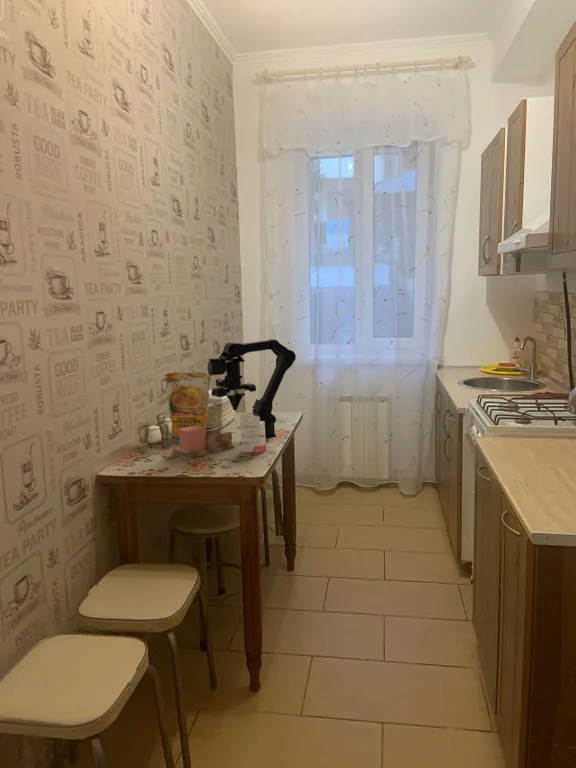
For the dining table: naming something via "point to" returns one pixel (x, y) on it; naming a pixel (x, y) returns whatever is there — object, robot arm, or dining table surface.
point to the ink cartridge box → (253, 434)
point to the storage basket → (219, 411)
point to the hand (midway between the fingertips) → (235, 410)
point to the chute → (211, 443)
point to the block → (192, 438)
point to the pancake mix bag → (187, 400)
